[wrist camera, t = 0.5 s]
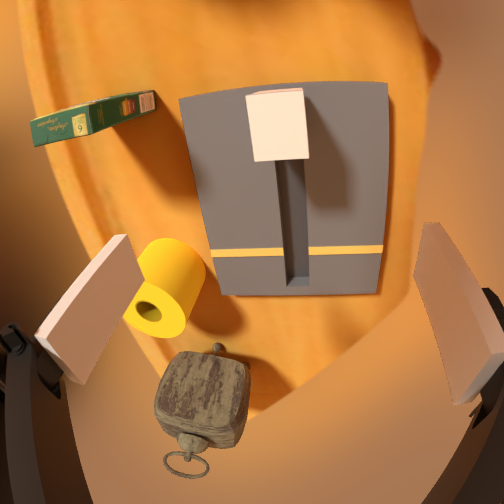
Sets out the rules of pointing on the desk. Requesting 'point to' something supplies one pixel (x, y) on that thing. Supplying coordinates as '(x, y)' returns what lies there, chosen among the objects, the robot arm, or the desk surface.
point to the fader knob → (278, 124)
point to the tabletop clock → (203, 403)
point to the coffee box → (91, 117)
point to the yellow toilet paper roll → (166, 288)
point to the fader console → (294, 191)
